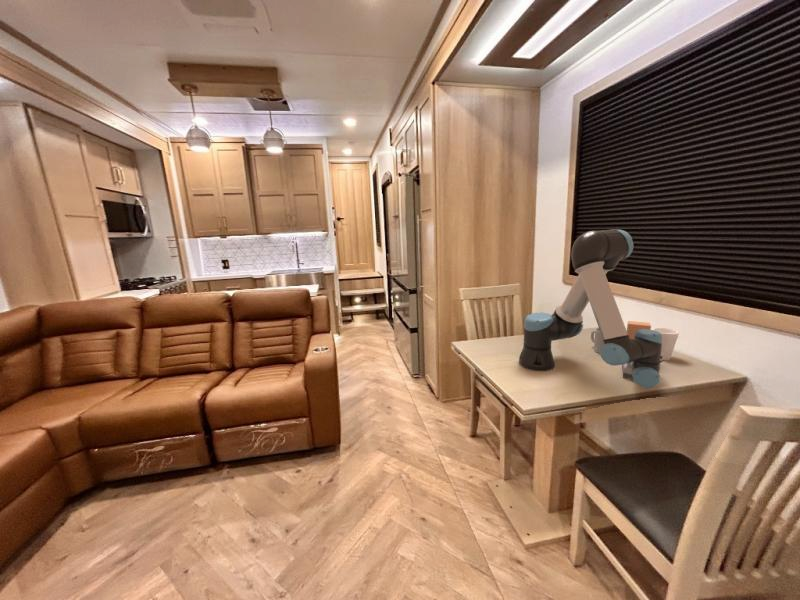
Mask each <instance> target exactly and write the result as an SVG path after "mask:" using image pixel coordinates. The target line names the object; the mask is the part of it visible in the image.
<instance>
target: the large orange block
mask: <svg viewBox="0 0 800 600" xmlns="http://www.w3.org/2000/svg"><path fill="white" fill-rule="evenodd" d="M640 329H649V330H652V324H651V322H646V321H644V322H643V321H636V320H635V321H633V320H627V325H626V330H627V333H628V336H629V338H630V339H633V338H635V337H634V336H635V333H636V331H637V330H640Z"/></svg>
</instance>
